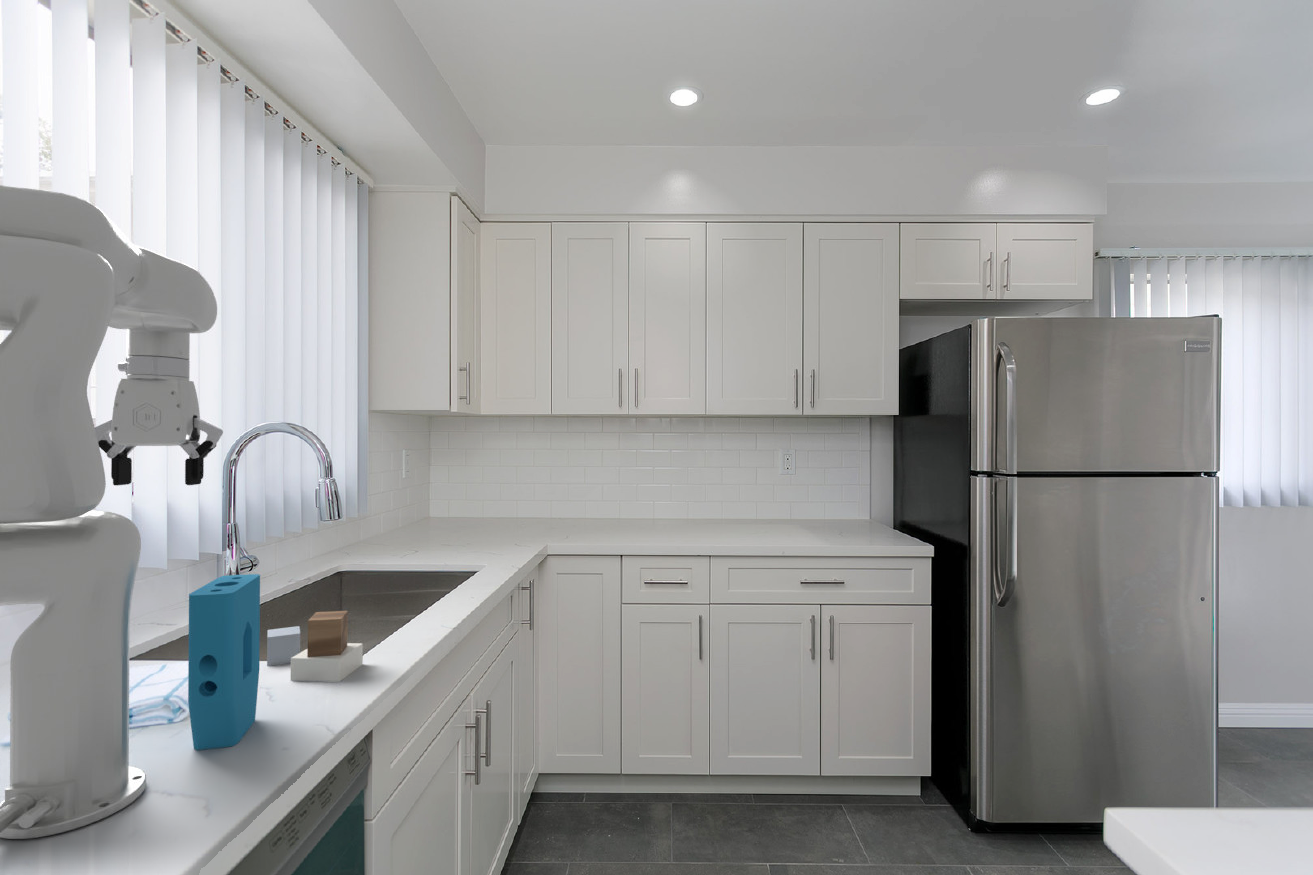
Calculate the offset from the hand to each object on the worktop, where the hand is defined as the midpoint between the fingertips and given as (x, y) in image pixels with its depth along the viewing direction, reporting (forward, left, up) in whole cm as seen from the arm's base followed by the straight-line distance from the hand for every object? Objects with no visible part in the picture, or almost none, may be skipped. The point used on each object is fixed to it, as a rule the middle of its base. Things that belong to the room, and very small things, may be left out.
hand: (158, 484), depth 99 cm
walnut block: (+8, -22, -29) cm, 37 cm away
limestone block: (+8, -22, -33) cm, 40 cm away
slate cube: (+16, -12, -32) cm, 38 cm away
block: (-14, -16, -32) cm, 39 cm away
